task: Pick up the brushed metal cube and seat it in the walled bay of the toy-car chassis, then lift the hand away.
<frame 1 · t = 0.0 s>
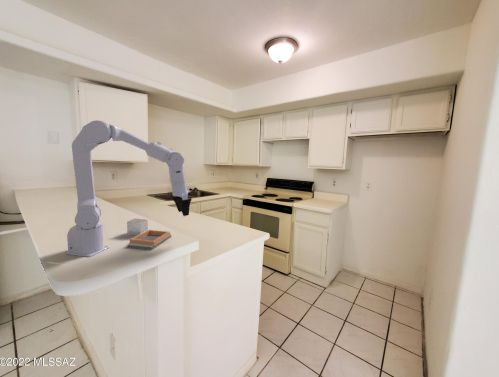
hand: (183, 213, 87), 10 cm above the table, fingers open, 7 cm apart
brushed metal cube: (137, 234, 89), on the table
chassis: (151, 241, 82), on the table
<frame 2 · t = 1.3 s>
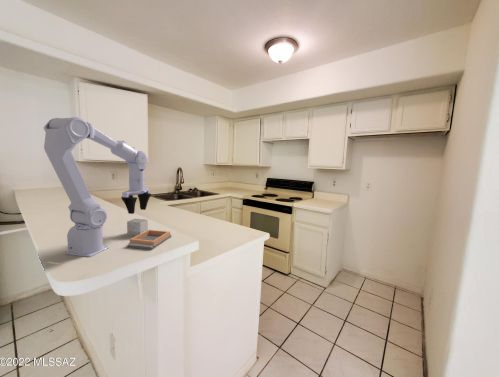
hand: (137, 211, 88), 10 cm above the table, fingers open, 7 cm apart
nothing on the table moved.
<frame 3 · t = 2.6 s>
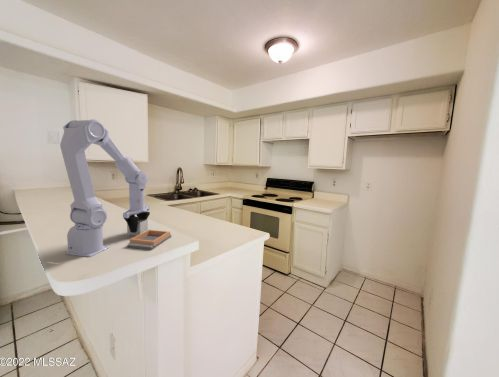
hand: (137, 230, 89), 2 cm above the table, fingers closed on brushed metal cube, 5 cm apart
brushed metal cube: (137, 233, 89), on the table, touching gripper
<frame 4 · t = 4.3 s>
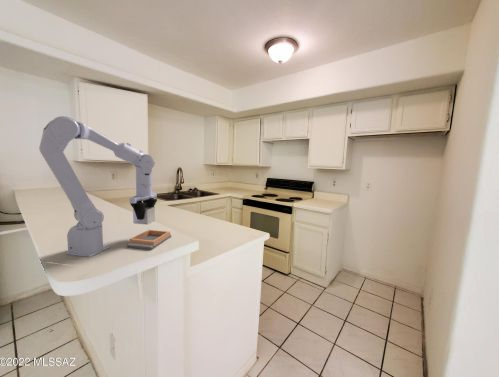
hand: (144, 217, 84), 9 cm above the table, fingers closed on brushed metal cube, 5 cm apart
brushed metal cube: (144, 222, 84), point 7 cm above the table, touching gripper
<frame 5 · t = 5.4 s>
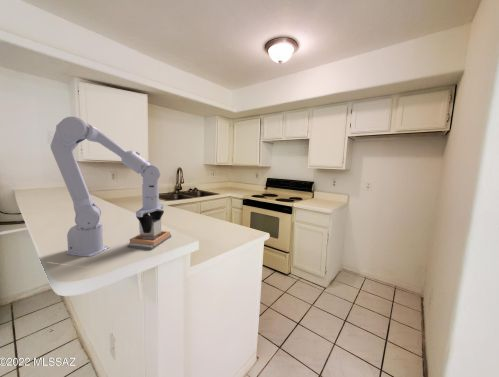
hand: (151, 230, 81), 5 cm above the table, fingers closed on brushed metal cube, 5 cm apart
brushed metal cube: (150, 235, 81), point 3 cm above the table, touching gripper
when the fingers open (4 cm above the table, at t = 6.1 s): brushed metal cube stays where it is, resting on chassis.
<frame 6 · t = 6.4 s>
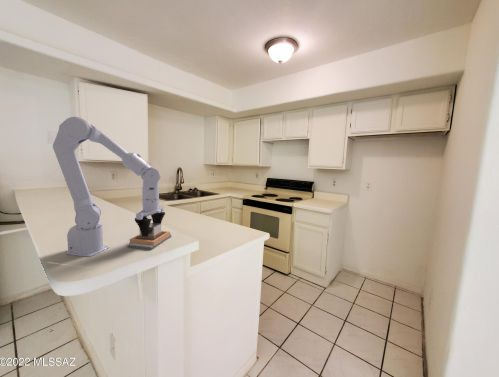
hand: (151, 232, 81), 4 cm above the table, fingers open, 7 cm apart
brushed metal cube: (150, 239, 82), point 1 cm above the table, touching chassis
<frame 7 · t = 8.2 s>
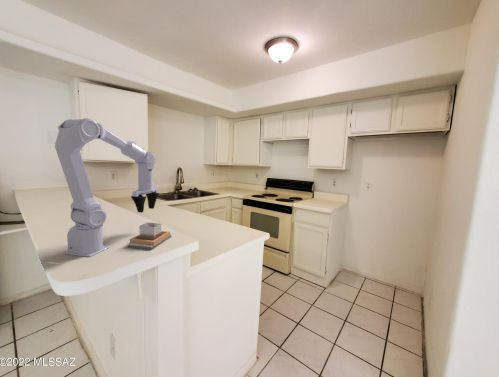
hand: (146, 210, 91), 10 cm above the table, fingers open, 7 cm apart
nothing on the table moved.
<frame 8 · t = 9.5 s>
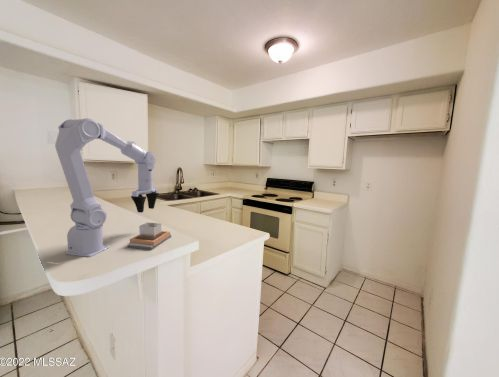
hand: (146, 210, 91), 10 cm above the table, fingers open, 7 cm apart
nothing on the table moved.
at the end: brushed metal cube 0.2 cm off-centre on the chassis, point 0.8 cm above the chassis's base; brushed metal cube tilted 0°; the gripper is holding nothing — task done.
